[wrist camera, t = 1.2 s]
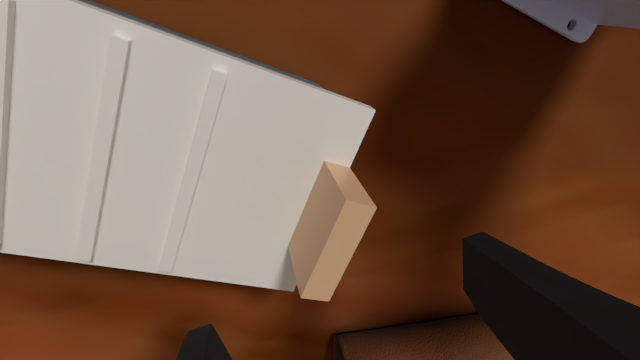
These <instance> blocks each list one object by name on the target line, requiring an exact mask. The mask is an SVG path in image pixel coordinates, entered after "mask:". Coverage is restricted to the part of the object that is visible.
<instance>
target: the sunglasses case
mask: <svg viewBox="0 0 640 360" xmlns="http://www.w3.org/2000/svg"><path fill="white" fill-rule="evenodd" d="M332 334H333V333H332ZM333 335H334V340H333V360H514V358H513V357H512V356H511V355H510V354H509V352H508V351H507V350H506V349H505V347H504V346H503V345H502V344H501V342H500V341H499V340H498V339H497V337H496V336H495V335H494V333H493V332H492V331H491V330H490V328H489V327H488V326H487V325H486V323H485V322H484V321H483V319H482V318H481V316H480V314H471V315H466V316H458V317H451V318H445V319H440V320H435V321H431V322H424V323H413V324H406V325H401V326H395V327H388V328H382V329H374V330H367V331H361V332H351V333H345V334H341V335H337V334H333Z"/></svg>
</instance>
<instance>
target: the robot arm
mask: <svg viewBox="0 0 640 360" xmlns="http://www.w3.org/2000/svg"><path fill="white" fill-rule="evenodd" d="M501 1H503V2H505V3H506V4H508V5H510V6H512V7H513V8H515V9H517V10H519V11H520V12H522V13H524V14H526V15H527V16H529V17H531V18H533V19H534V20H536V21H538V22H540V23H541V24H543V25H545V26H547V27H548V28H550V29H552V30H554V31H555V32H557V33H559V34H561V35H562V36H564V37H566V38H568V39H569V40H571V41H573V42H578V43H582V42H585V41H586V40H587V39H588V38H589V37H590V36H591V34H592V33H593V31H594V30H595V28H596V26H597V25H608V26H618V27H628V28H638V29H640V0H501ZM569 22H570V25H569V27H568V28H567V25H568V23H569ZM462 241H463V288H464V290H465V292H466V294H467V295H468V297H469V299H470V300H471V302H472V304H473V305H474V307H475V308H476V310H477V311H478V313H479V314H480V316H481V318H482V319H483V321H484V322H485V323H486V325H487V326H488V327H489V328H490V330H491V331H492V332H493V333H494V335H495V336H496V337H497V339H498V340H499V341H500V342H501V344H502V345H503V346H504V347H505V349H506V350H507V351H508V352H509V354H510V355H511V356H512V357H513V358H514V360H640V307H638V306H636V305H633V304H631V303H629V302H626V301H624V300H621V299H619V298H617V297H614V296H612V295H610V294H608V293H605V292H603V291H601V290H599V289H596V288H594V287H592V286H589V285H587V284H585V283H583V282H581V281H579V280H577V279H574V278H572V277H570V276H568V275H566V274H564V273H562V272H560V271H558V270H556V269H554V268H552V267H550V266H548V265H546V264H544V263H542V262H540V261H538V260H536V259H534V258H532V257H530V256H528V255H526V254H524V253H522V252H520V251H518V250H517V249H515V248H513V247H511V246H509V245H507V244H505V243H503V242H501V241H499V240H497V239H496V238H494V237H492V236H490V235H488V234H486V233H484V232H480V233H477V234H474V235H471V236H468V237H465V238H462ZM176 360H232V358H231V357H230V355H229V353H228V351H227V350H226V348H225V346H224V344H223V343H222V341H221V339H220V337H219V336H218V334H217V332H216V330H215V329H214V327H213V325H212V323H211V324H208V325H205V326H202V327H199V328H197V329H194V330H191V331H189V332H188V333H187V335H186V337H185V340H184V342H183V345H182V347H181V349H180V352H179V354H178V357H177V359H176Z"/></svg>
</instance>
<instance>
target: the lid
mask: <svg viewBox="0 0 640 360" xmlns="http://www.w3.org/2000/svg"><path fill="white" fill-rule="evenodd" d="M375 111H376V110H375V109H374V108H372V107H371V106H369V105H366V104H363V103H361V102H358V101H355V100H352V99H350V98H347V97H344V96H341V95H339V94H336V93H333V92H330V91H327V90H325V89H322V88H319V87H316V86H314V85H311V84H308V83H305V82H303V81H300V80H297V79H294V78H292V77H289V76H286V75H283V74H280V73H278V72H275V71H272V70H269V69H267V68H264V67H261V66H258V65H256V64H253V63H250V62H247V61H244V60H242V59H239V58H236V57H233V56H231V55H228V54H225V53H222V52H220V51H217V50H214V49H211V48H209V47H206V46H203V45H200V44H197V43H195V42H192V41H189V40H186V39H184V38H181V37H178V36H175V35H173V34H170V33H167V32H164V31H162V30H159V29H156V28H153V27H150V26H148V25H145V24H142V23H139V22H137V21H134V20H131V19H128V18H126V17H123V16H120V15H117V14H115V13H112V12H109V11H106V10H103V9H101V8H98V7H95V6H92V5H90V4H87V3H84V2H81V1H79V0H0V252H1V253H8V254H16V255H23V256H30V257H38V258H45V259H53V260H60V261H68V262H75V263H83V264H90V265H98V266H105V267H113V268H120V269H128V270H135V271H143V272H150V273H158V274H165V275H173V276H180V277H188V278H195V279H203V280H210V281H218V282H225V283H233V284H240V285H248V286H255V287H262V288H270V289H277V290H285V291H292V292H293V291H294V289H295V287H296V284H297V286H298V290H299V294H300V298H305V299H313V300H320V301H328V302H329V300H330V298H331V296H332V295H333V293H334V291H335V289H336V287H337V285H338V283H339V281H340V279H341V277H342V275H343V273H344V271H345V269H346V267H347V265H348V263H349V261H350V259H351V257H352V255H353V253H354V252H355V250H356V248H357V246H358V244H359V242H360V240H361V238H362V236H363V234H364V232H365V230H366V228H367V226H368V224H369V222H370V220H371V218H372V216H373V214H374V212H375V211H376V209H377V207H376V206H375V204H374V203H373V201H372V200H371V198H370V197H369V195H368V194H367V192H366V191H365V189H364V188H363V186H362V185H361V184H360V182H359V181H358V179H357V178H356V176H355V175H354V173H353V172H352V170H351V169H350V166H351V164H352V162H353V160H354V157H355V155H356V153H357V151H358V149H359V146H360V144H361V142H362V140H363V138H364V135H365V133H366V131H367V129H368V127H369V124H370V122H371V120H372V118H373V116H374V114H375Z"/></svg>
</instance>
